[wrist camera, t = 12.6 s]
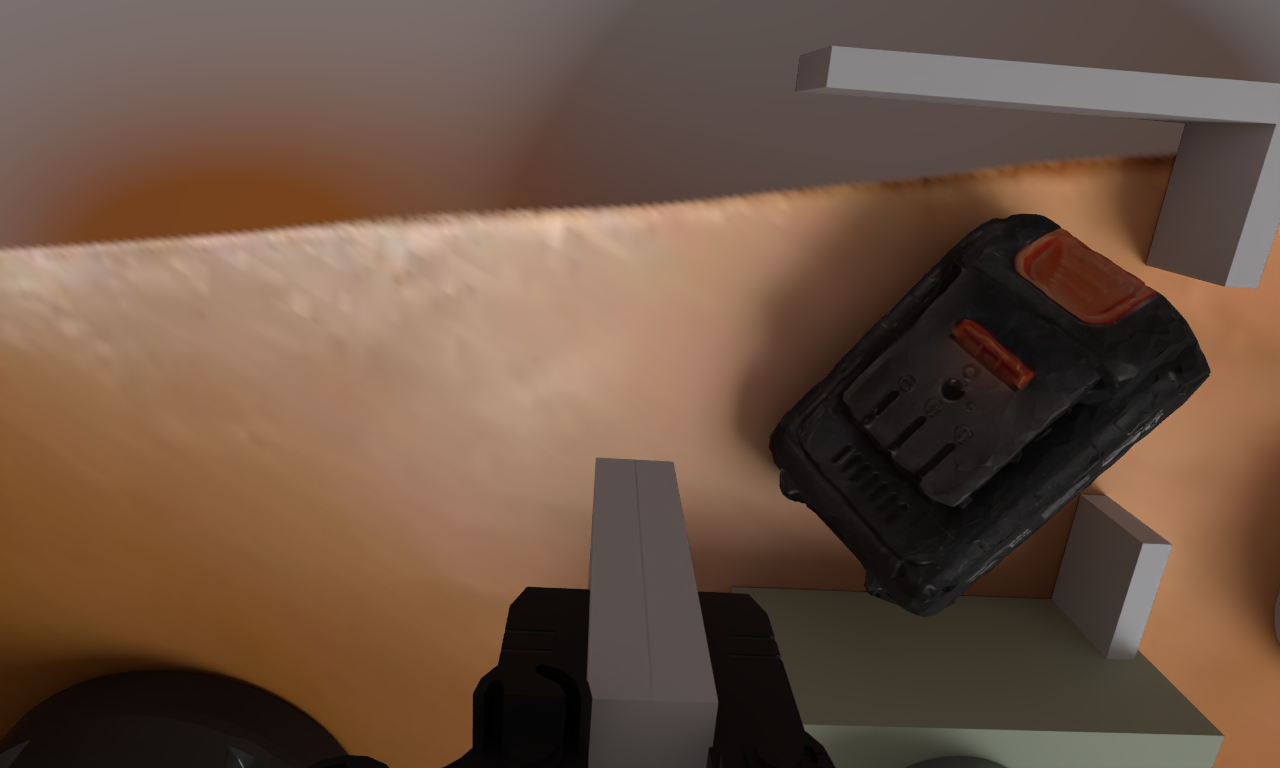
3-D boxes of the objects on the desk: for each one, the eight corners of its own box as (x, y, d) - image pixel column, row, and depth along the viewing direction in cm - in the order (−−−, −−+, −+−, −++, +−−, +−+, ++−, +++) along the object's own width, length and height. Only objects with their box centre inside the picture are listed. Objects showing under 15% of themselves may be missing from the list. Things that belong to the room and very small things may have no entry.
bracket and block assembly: (709, 755, 32) (761, 1064, 21) (799, 56, 23) (956, 6, 13) (1039, 763, 33) (1241, 1063, 22) (1240, 92, 24) (1717, 74, 14)
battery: (1056, 249, 27) (1011, 147, 22) (1260, 419, 23) (1264, 341, 17) (799, 460, 31) (708, 417, 26) (929, 646, 26) (849, 640, 21)
